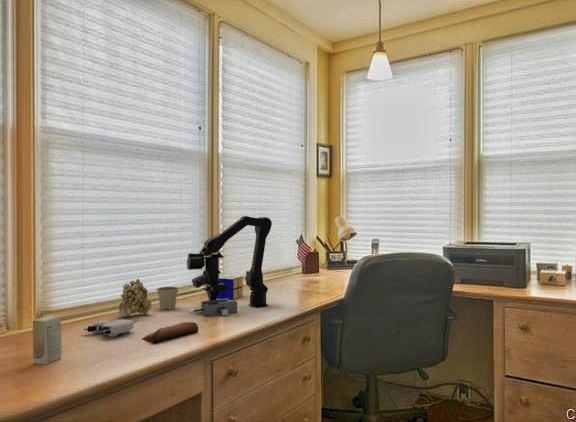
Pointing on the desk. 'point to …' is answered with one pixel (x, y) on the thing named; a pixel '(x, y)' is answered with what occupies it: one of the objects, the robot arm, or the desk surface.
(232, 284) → the puzzle cube
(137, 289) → the mineral formation
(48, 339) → the skincare box
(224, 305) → the gauge housing
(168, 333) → the brown elongated rounded piece
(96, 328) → the robot toy
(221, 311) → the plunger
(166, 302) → the flower pot
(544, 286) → the desk surface
